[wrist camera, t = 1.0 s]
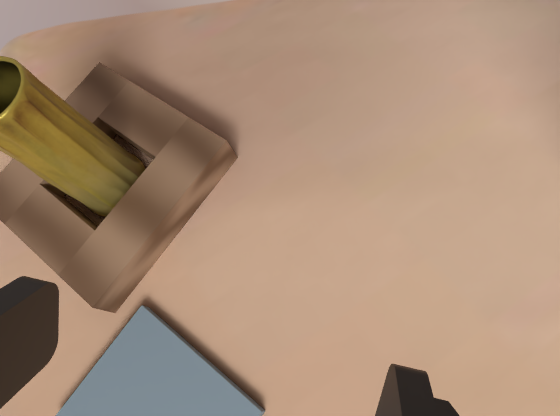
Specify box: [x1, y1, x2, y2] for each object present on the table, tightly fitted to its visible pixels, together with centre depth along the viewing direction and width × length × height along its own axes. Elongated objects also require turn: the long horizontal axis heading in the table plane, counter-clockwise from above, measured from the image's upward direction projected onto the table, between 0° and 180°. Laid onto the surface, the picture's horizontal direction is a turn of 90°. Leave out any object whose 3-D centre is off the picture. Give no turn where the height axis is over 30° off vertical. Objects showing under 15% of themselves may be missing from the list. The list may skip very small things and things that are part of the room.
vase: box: [0, 56, 145, 217], centre depth 33 cm, size 6×6×14 cm
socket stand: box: [0, 62, 238, 313], centre depth 38 cm, size 16×16×3 cm
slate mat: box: [56, 305, 265, 416], centre depth 31 cm, size 10×12×1 cm
